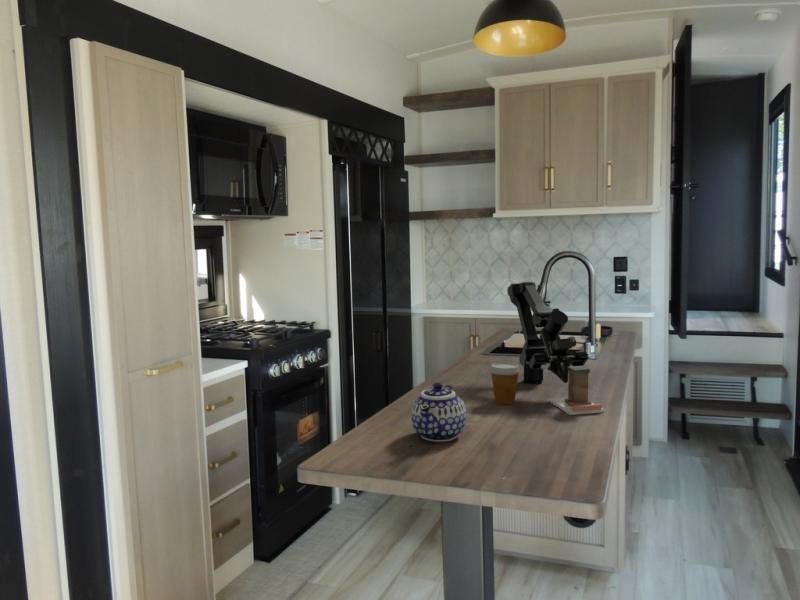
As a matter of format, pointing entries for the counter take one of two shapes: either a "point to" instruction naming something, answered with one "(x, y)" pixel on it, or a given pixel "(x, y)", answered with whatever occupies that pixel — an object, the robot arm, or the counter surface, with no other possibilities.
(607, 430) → the counter surface
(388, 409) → the counter surface
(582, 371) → the brown wooden pedestal
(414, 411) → the teapot
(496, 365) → the disposable coffee cup
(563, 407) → the thin white base plate
